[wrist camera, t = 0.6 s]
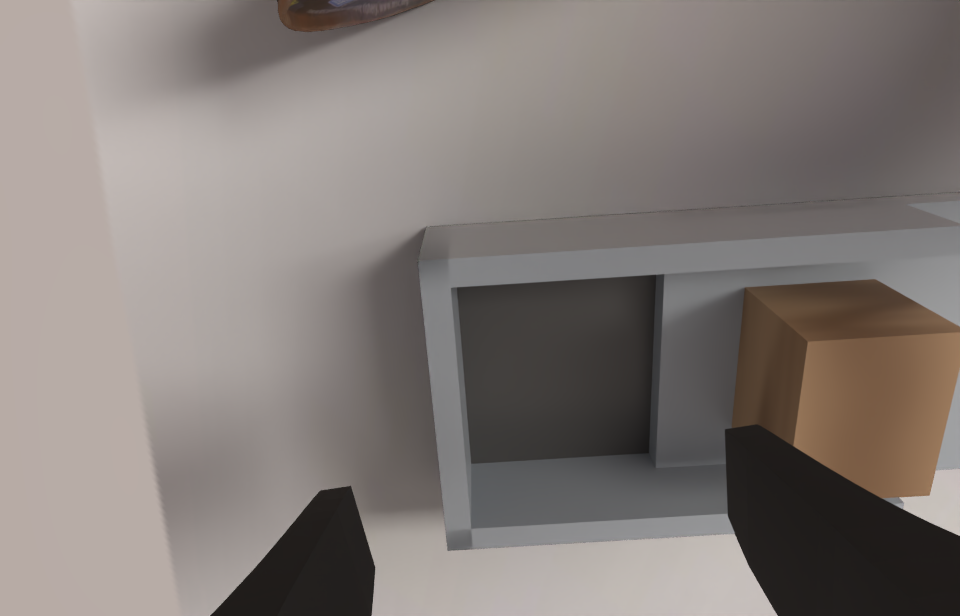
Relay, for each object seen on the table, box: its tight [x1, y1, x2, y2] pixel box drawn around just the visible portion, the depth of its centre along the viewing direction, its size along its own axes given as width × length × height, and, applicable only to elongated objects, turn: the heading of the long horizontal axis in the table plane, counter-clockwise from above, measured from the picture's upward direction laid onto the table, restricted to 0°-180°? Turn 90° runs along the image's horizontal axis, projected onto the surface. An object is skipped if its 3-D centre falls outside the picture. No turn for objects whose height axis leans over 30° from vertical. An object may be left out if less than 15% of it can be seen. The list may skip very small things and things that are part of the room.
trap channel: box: [418, 192, 960, 551], centre depth 20 cm, size 26×10×4 cm, turn 94°
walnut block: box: [732, 279, 960, 498], centre depth 19 cm, size 4×5×4 cm
